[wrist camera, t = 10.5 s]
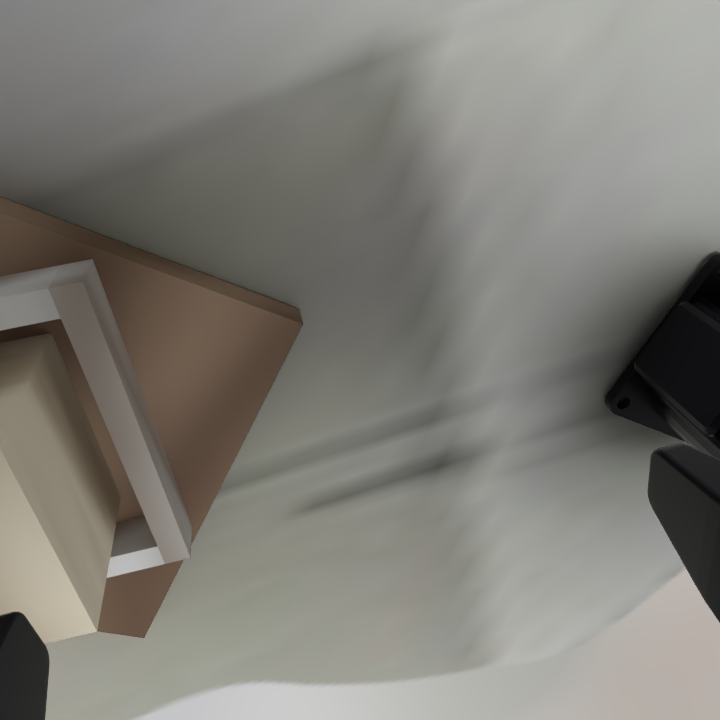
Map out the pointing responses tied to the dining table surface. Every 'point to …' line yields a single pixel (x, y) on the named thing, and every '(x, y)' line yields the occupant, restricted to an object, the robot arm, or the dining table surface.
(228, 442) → the socket board
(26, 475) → the ash block
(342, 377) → the dining table surface
